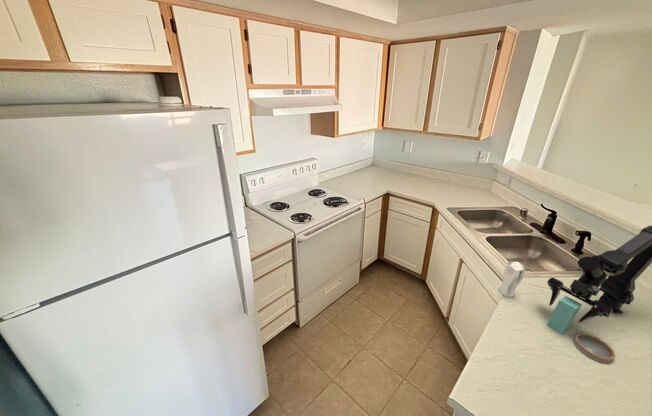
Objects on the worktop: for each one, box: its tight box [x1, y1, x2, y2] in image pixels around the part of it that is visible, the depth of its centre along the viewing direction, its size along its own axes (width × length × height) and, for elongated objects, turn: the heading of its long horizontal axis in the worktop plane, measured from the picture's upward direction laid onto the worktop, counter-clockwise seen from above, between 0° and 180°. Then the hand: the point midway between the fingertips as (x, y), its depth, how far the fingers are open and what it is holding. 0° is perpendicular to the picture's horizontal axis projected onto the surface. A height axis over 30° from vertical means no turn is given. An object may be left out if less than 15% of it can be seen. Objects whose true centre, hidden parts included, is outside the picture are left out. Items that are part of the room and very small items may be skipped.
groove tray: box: [572, 332, 616, 365], centre depth 93 cm, size 11×11×2 cm
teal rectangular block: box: [546, 295, 583, 335], centre depth 100 cm, size 5×5×13 cm
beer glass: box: [498, 261, 527, 298], centre depth 116 cm, size 7×7×15 cm
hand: (563, 313), depth 99 cm, fingers open, 9 cm apart
